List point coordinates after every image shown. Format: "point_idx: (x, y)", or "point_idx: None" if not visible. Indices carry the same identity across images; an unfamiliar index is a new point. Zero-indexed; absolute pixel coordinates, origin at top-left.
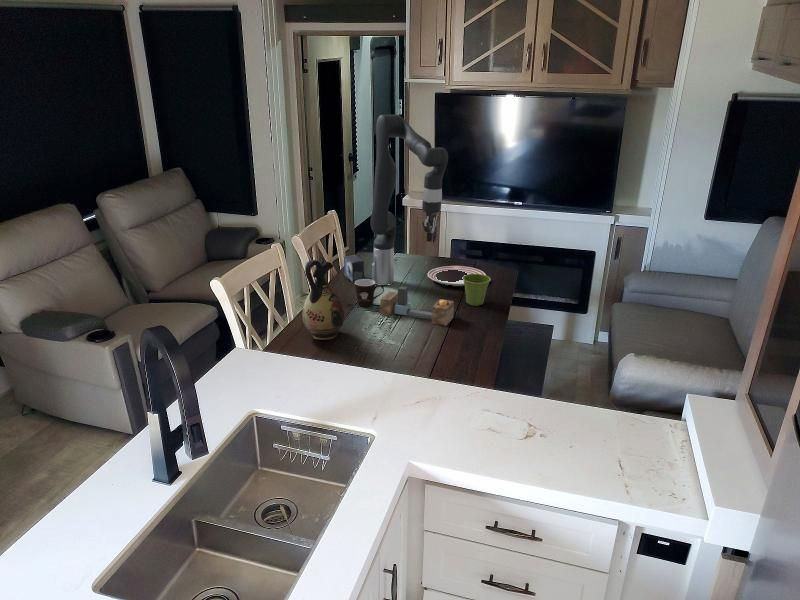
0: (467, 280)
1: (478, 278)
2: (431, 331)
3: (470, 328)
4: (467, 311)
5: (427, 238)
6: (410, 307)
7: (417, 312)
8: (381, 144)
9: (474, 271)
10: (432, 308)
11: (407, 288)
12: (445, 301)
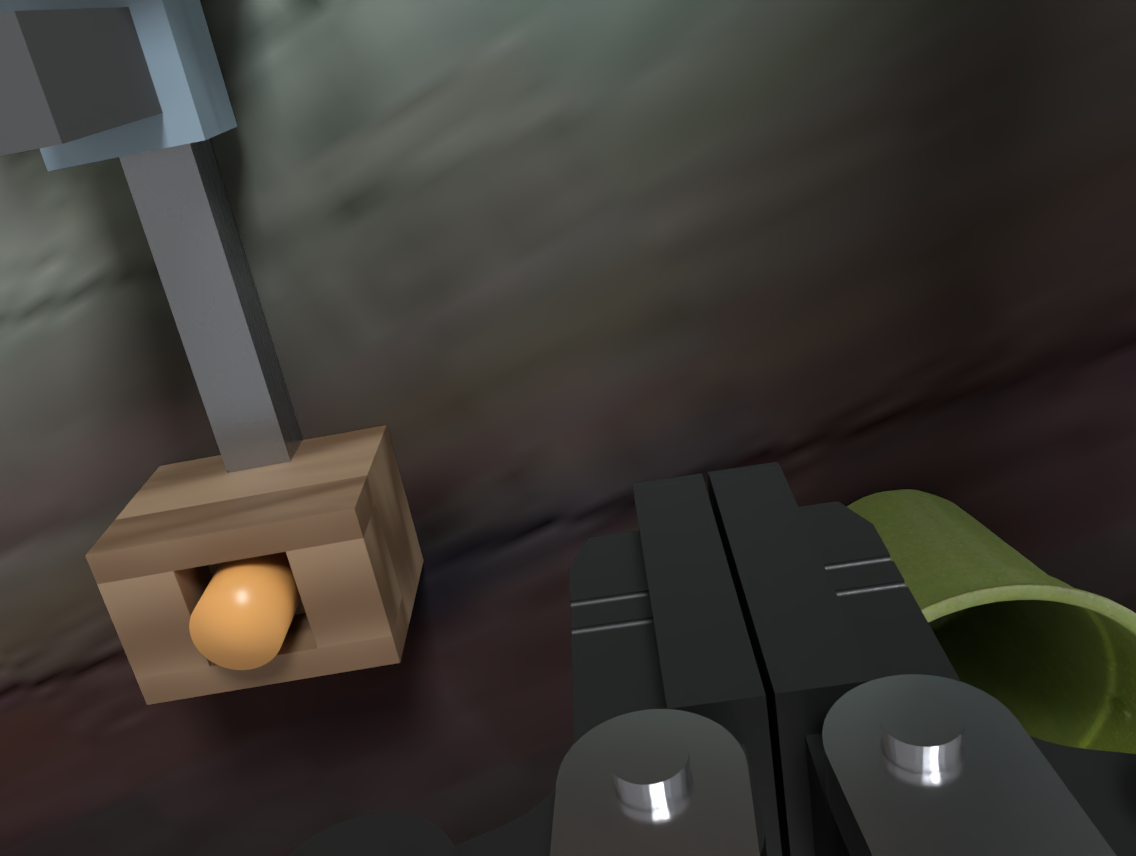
0: (1035, 577)
1: (1132, 679)
2: (7, 548)
3: (302, 771)
4: None
5: (576, 609)
6: (220, 132)
7: (171, 275)
8: None
9: None
10: (94, 548)
11: (64, 142)
12: (242, 654)
